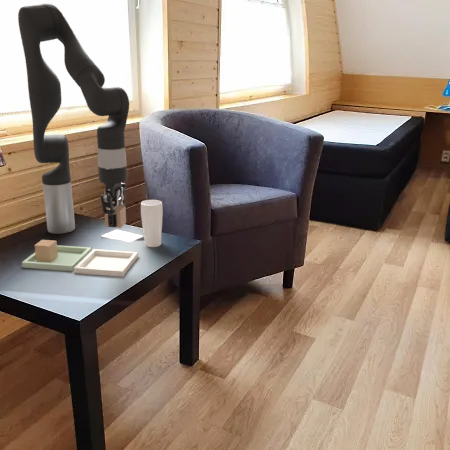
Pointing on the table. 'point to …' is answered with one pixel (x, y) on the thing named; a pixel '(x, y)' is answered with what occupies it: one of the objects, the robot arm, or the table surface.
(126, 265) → the tray
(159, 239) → the drinking glass
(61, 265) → the tray
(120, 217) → the tan block
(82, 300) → the table surface
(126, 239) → the external hard drive
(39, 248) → the tan boxy piece
